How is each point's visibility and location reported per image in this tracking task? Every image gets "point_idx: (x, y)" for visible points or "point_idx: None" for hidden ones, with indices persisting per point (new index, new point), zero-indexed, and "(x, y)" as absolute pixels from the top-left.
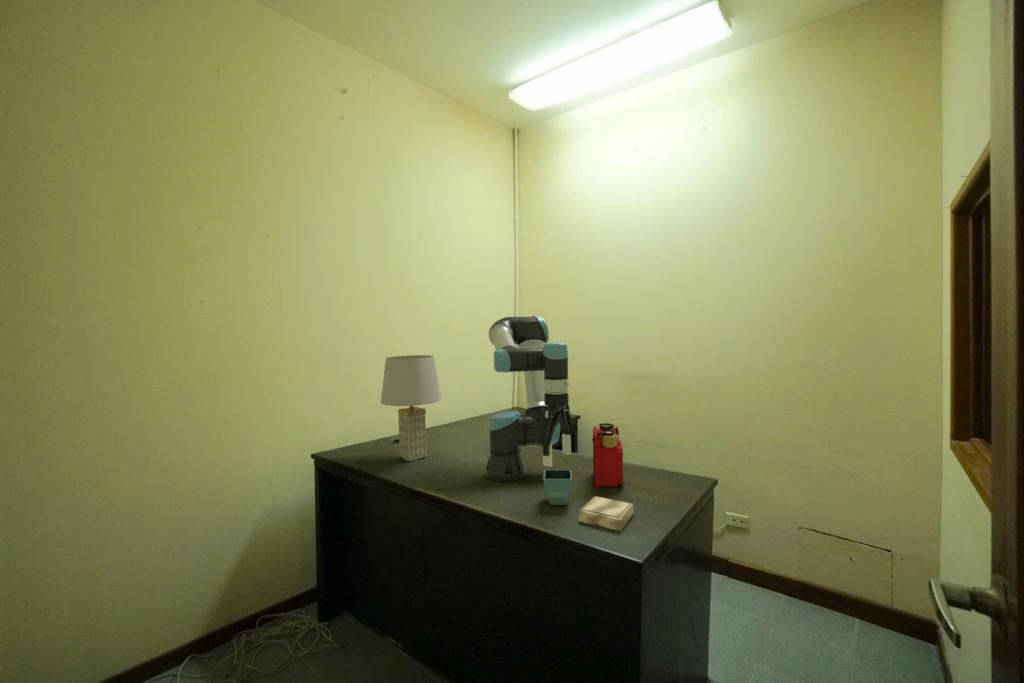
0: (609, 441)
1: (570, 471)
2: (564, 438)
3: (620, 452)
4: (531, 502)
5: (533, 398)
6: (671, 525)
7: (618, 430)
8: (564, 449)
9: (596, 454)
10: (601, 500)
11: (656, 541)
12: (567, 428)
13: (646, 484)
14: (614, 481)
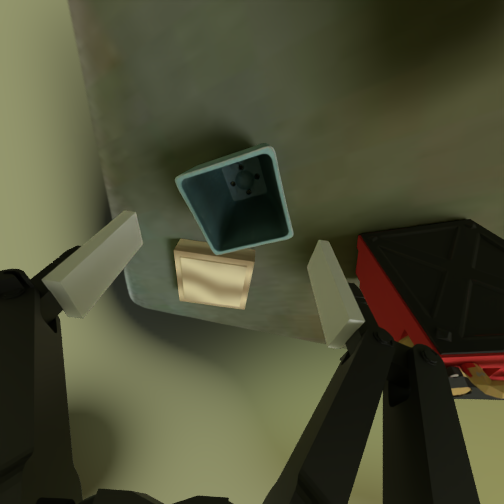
0: None
1: (278, 239)
2: (335, 306)
3: None
4: (213, 102)
5: None
6: (231, 325)
7: None
8: (319, 261)
9: (395, 299)
10: (233, 275)
11: (183, 315)
12: (324, 393)
13: None
14: (359, 276)
